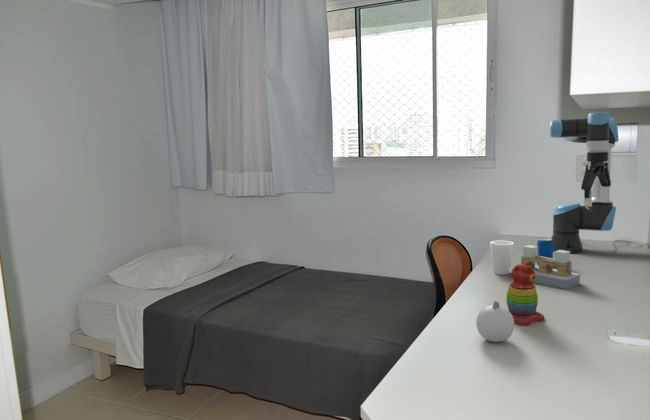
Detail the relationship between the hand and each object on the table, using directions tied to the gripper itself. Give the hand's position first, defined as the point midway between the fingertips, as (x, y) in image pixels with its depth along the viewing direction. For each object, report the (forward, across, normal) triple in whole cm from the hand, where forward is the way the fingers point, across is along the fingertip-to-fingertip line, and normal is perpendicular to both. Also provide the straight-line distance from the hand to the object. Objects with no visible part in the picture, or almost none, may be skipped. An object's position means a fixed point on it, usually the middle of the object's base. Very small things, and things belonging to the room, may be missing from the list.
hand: (595, 204), depth 201 cm
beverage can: (+29, +2, -20) cm, 35 cm away
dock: (+29, +23, -8) cm, 38 cm away
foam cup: (+29, +24, -27) cm, 46 cm away
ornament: (+29, +87, +12) cm, 92 cm away
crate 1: (+20, +23, -14) cm, 34 cm away
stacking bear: (+29, +66, +8) cm, 72 cm away
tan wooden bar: (+25, +23, -8) cm, 35 cm away
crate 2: (+20, +23, -2) cm, 30 cm away
